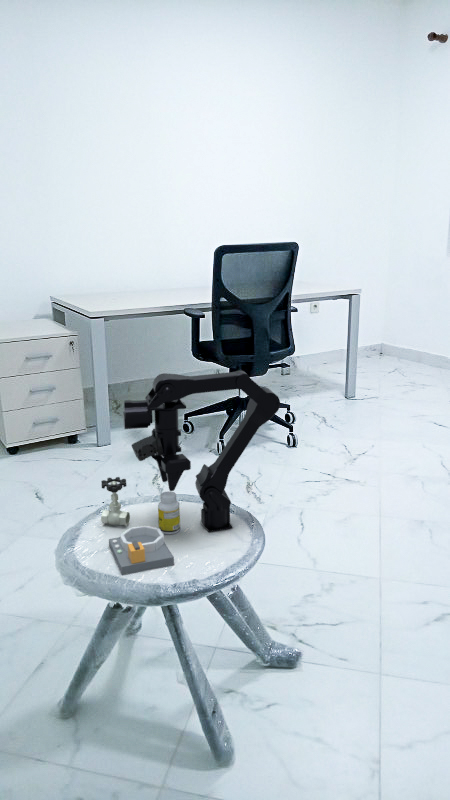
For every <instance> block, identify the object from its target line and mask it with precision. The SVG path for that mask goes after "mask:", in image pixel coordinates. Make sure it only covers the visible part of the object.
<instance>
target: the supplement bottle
mask: <svg viewBox="0 0 450 800" xmlns="http://www.w3.org/2000/svg"><path fill="white" fill-rule="evenodd" d="M159 498H160V501H159V502H158V504H157V516H158V518H157V519H158V528H159V529H160V530H161V532H162V533H163V535H174V534H177V533H179V532H180V530H181V514H180V512H181V511H180V502H179V501H178V500H177V493H176V492H174V491H170V490H169V491H164V492H162V493H160V497H159Z"/></svg>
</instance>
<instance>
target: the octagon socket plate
mask: <svg viewBox="0 0 450 800" xmlns="http://www.w3.org/2000/svg"><path fill="white" fill-rule="evenodd" d="M132 541H137V542H141V543H142V545H143V547H144V549H145V561H144V562H139V563H133V564H132V563H131V561H130V559H129V557H128V544H132ZM108 548H109V550H110V552H111V554H112V556H113V558H114V561H115V563H116V566H117V568H118V570H119V571H120V574H121V576H125V575H130V574H134V573H135V574H136V573H141V572H144V571H151V570H156V569H159V568H164V567H165V568H167V567H169V566H170V567H172V566H175V557H174V555H173V554H172V552H171V551H170V548H169V547H168V546H167V544H166V542H165V534H163V533H162V532H161V530H160V529H159V527H155V526H149V525H140V526H134V527H129V528H127V529H126V530H125V531H124V532H122V533H121V534H120V535H119V537H112V538H108Z"/></svg>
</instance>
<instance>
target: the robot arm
mask: <svg viewBox="0 0 450 800" xmlns="http://www.w3.org/2000/svg"><path fill="white" fill-rule="evenodd" d="M231 390H233V391H234V390H240V391H241V392H243V393H244V394H245V395H247V396H248V397H249V400H248V403H247V406H246V410H245V414H244V417H243V419H242V420H241V421H240V423H239V424H238V426H237V428H236V429H235V430H234V432H233V434H232V435H231V437H230V438H229V440H228V441H227V443H226V444H225V446H224V448H223V449H222V451H221V452H220V454H219V455H218V457H217V458H216V460H215V461H214V462H213V463H212V464H211V465H209V466H208V465H206V464H204V463H203V465H202V467H201V469H200V471H199V472H198V474H196V475H195V478H196V480H195V483H194V484H195V489H196V491H197V493H198V496H199V497H200V500H201V501H202V508H201V509H200V516H201V518H200V523H201V525H202V526H203V527H204V528H205V529H206V531H207V532H208V533H212V532H219V531H224V530H228V529H229V530H230V529H233V525H232V524H231V518H230V517H231V505H232V504H231V503H232V501H231V499H230V497H229V496H228V494H227V492H226V490H225V489H226V486H227V483H228V479H229V475H230V473H231V471H232V470H233V468H234V467H235V465H236V463H237V462H238V460H239V459H240V458H241V455H242V454H243V453H244V451H245V449H247V447H248V445H249V443H250V442H251V441H252V439H253V437H254V436H255V435H256V433H257V431H259V429H260V427H262V426H263V425H265V424H266V423H267V422H269V421H270V420H271V419H272V418H273V417H274V416H275V415H276V414H277V413H278V412H279V410H280V407H281V400H280V398H279V396H278V395H277V394H276V393H275V392H273V391H272V390H271V389H270V388H269V387H265V386H264V387H263V386H260V385H259V384H258V383H256V382H255V381H254V380H253V379H252V377H250V375H249V374H248V373H246V372H245V371H244V370H239V369H238V370H236V371H232V372H231V371H230V372H220V373H211V374H199V375H183V374H177V373H168V372H167V373H160V374H157V376H155V378H154V379H153V382H152V388H151V389H150V391H148V393H147V395H146V396H145V397H144V398H145V399H144V400H143V399H142V400H130V399H129V400H124V401H123V412H122V415H123V416H122V418H123V428H124V430H134V429H148V428H149V427H151V424H153V411H154V428H152V430H151V435H149V436H147V437H144V438H142V439H140V440H138V441H135V442H134V443H132V444H131V448H132V450H133V453H134V454H135V457H136V458H137V460H138V462H144V461H145V460H146V459H148V458H150V457H152V459H153V460H155V461H156V463H157V467H158V471H159V474H160V478H161V480H162V483H167V486H168V490H169V491H170V492H174V491H175V489H176V487H177V485H178V483H179V482H180V479H181V477H182V475H183V473H184V472H185V471H190V470H191V469H192V464H191V460H190V459H189V458H188V457H187V456H186V455H184V454H183V453H181V452H182V447H181V446H180V442H179V441H180V439H179V437H181V436H182V431H181V430H180V429H179V410H185V409H187V405H186V403H185V402H184V401H182V399H184V398H186V397H188V396H191V395H194V394H202V393H203V394H204V393H211V392H212V393H213V392H214V393H215V392H222V391H231ZM177 453H178V454H177Z"/></svg>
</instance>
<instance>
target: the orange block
mask: <svg viewBox="0 0 450 800" xmlns="http://www.w3.org/2000/svg"><path fill="white" fill-rule="evenodd" d="M128 557H129V559H130V561H131V563H132V564H133V563H139V562H144V561H145V549H144V547H143V545H142V543H141V542H137V541H132V544H128Z"/></svg>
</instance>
